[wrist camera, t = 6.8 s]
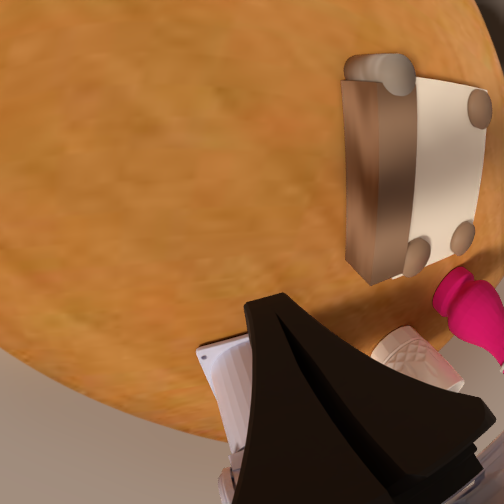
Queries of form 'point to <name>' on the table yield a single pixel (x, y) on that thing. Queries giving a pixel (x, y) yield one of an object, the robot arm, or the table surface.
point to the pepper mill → (472, 311)
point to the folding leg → (379, 162)
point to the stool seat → (446, 170)
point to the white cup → (416, 359)
